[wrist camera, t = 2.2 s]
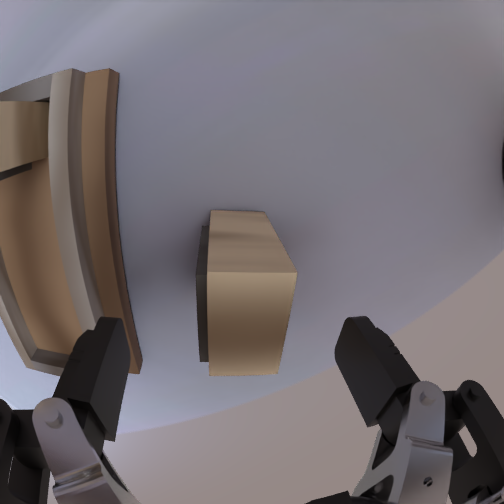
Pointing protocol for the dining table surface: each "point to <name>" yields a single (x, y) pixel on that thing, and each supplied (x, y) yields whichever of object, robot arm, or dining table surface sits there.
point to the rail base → (60, 216)
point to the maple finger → (242, 294)
